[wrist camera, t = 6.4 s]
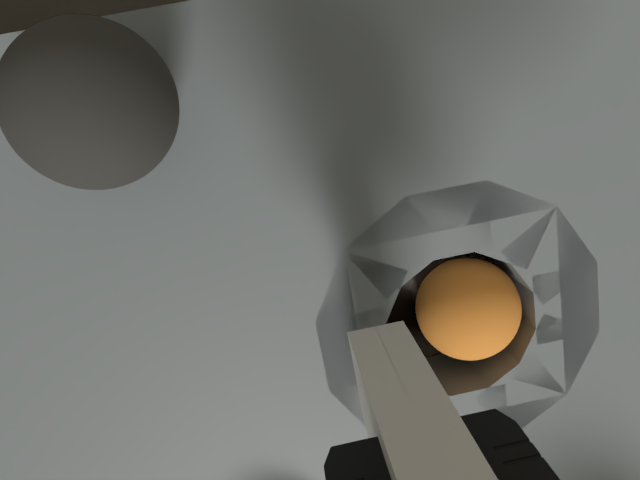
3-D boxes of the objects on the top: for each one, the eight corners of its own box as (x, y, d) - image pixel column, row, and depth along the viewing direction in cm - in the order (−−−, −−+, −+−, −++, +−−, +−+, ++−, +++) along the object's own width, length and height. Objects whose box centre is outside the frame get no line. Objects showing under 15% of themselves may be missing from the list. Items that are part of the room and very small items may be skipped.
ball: (429, 387, 15) (539, 373, 15) (415, 288, 15) (533, 271, 14) (416, 336, 18) (508, 324, 18) (404, 252, 18) (500, 237, 17)
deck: (61, 619, 20) (34, 690, 18) (-171, 83, 14) (-258, 81, 12) (609, 491, 21) (653, 543, 19) (593, -56, 15) (654, -84, 13)
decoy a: (66, 189, 13) (-5, 222, 10) (17, 40, 12) (-80, 19, 9) (205, 161, 13) (184, 185, 10) (168, 13, 12) (131, -19, 9)
